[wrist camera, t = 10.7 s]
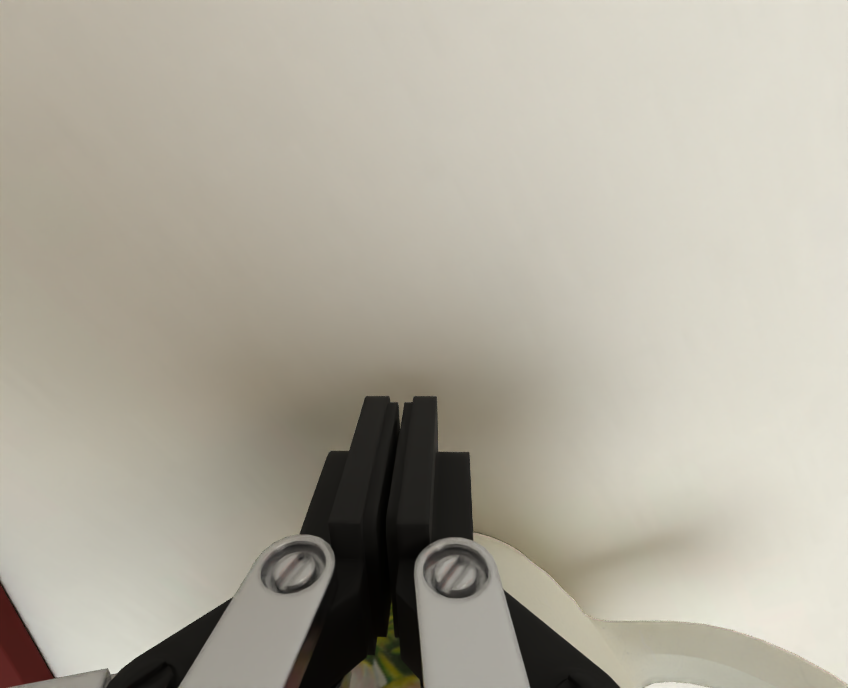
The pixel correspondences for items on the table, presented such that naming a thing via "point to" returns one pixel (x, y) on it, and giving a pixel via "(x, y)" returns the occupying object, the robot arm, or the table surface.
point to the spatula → (18, 650)
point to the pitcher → (621, 642)
